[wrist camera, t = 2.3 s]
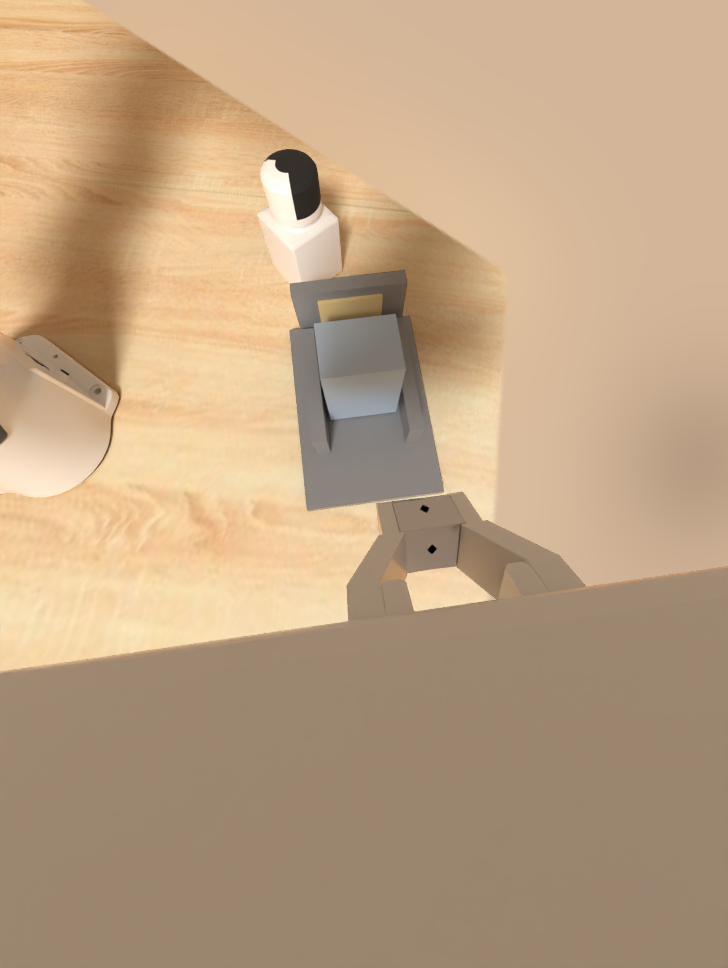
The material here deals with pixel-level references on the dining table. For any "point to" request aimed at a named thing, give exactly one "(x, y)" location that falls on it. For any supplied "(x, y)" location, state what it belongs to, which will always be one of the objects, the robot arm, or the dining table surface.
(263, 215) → the medicine bottle
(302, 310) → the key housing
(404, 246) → the dining table surface
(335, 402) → the key block
